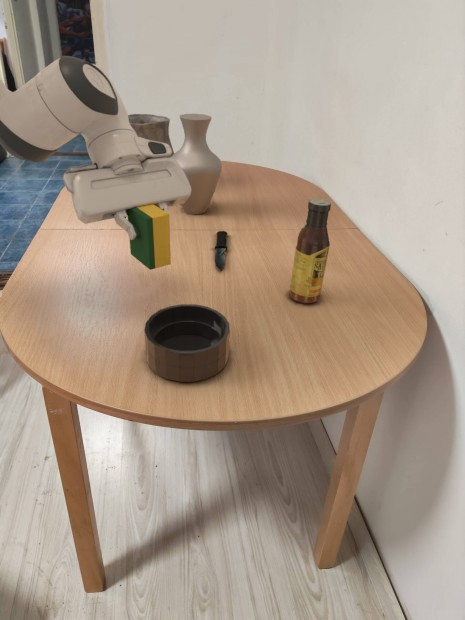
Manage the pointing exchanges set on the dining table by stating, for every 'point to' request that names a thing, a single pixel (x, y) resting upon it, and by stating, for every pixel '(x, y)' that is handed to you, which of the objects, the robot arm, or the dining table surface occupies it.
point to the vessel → (151, 127)
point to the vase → (198, 163)
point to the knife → (220, 249)
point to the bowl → (187, 342)
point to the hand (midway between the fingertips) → (151, 234)
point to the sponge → (151, 236)
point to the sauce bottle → (311, 254)
